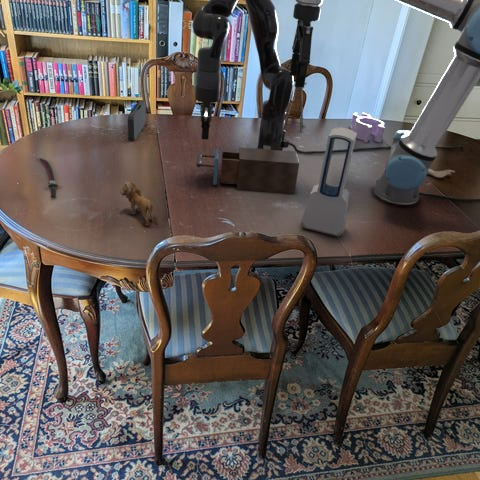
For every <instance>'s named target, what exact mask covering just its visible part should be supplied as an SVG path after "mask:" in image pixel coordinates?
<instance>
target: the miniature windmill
mask: <svg viewBox="0 0 480 480" xmlns="http://www.w3.org/2000/svg"><path fill="white" fill-rule="evenodd" d="M307 84H308V82H307V81H305V85H304V86H307ZM303 90H304V88H300V87H295V91H294V94H293V97H292V100H291V102H290V104H289V109H288V112H287V113H286V117H285V123H284V130H285V128H286V126H287V124H288V123H293V124H299V132H302V127H303V126H304V120H305V119H304V115H303V114H304V110H303V109H304V107H303V104H304V103H303V102H304V101H303V100H304V98H303V96H304V95H303ZM297 92H300V96H296V95H297ZM295 101H297V102H300V106H298V105H293V104H294V102H295ZM292 108H298V109H292ZM299 109H300V110H299ZM291 111H293V112H299V113H300V114H299V115H300V116H299V117H297V116H291V115H290V114H291ZM289 118H291V119H292V118H294V119H299V122H297V121H291V120H289Z"/></svg>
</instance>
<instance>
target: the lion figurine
mask: <svg viewBox="0 0 480 480" xmlns="http://www.w3.org/2000/svg"><path fill="white" fill-rule="evenodd" d="M119 193H120V194H121V196H122V197H124V196H125V198H126V199H127V200H128V202H129V203H130V207H131V211H130V212H129V213H130V215H135V214H136V211H137V212H141V214H142V216H143V218H144V219H145V223H144V225H145V227H149V226H150V221H152V223H153V225H155V226H159V222H156V221H155V219H154V217H153V216H154V215H153V204H152V202H151V200H150V199H148V198H146V197H145V196H144V195H143V194H142V192H141V190H140V187H138V185H136V184H135V183H133V182H132V181H125V182H124V186H122V188H121V189H119ZM136 207H137V208H136ZM148 214H149V216H148Z"/></svg>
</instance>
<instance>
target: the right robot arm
mask: <svg viewBox="0 0 480 480" xmlns="http://www.w3.org/2000/svg"><path fill="white" fill-rule="evenodd" d="M323 1H324V0H295V2H296V3H295V4H294V7H293V14H292V17H293V19H295V20H296V21H297V24H296V29H295V32H294V33H295V34H294V38H293V43H292V46H291V49H292V51H291V52H292V54H291V61H290V68H289V71H290V74H289V75H290V76H293V77H295V80H294V81H295V82H294V88H296V87H298V88H303V89H304V88H305V86H306V85H305V82H306V77H307V73H308V72H307V71H308V65H310V64H311V63H310V62H311V51H312V39H313V32H314V26H312V22H319V21H320V17H321V11H322V7H321V5H322V4H323ZM395 1H397V2H399V3H401V4H403V5H405V6H408V7H411V8H413V9H416V10H418V11H420V12H423V13H424V14H427V15H430V16H432V17H435V18H436V19H439V20H442V21H445V22H447V23H449V26H450V28H451V29H453V30H455V31H457V32H460V35H459V36H458V38H457V40H456V42H455V43H454V45H453V47H452V48H453V52H454V57H453V59H452V60H451V62H450V63H449V65H448V67H447V69H446V70H445V72H444V74H443V75H442V77H441V79H440V81H439V82H438V84H437V86H436V88H435V89H434V91H433V92H432V95H431V96H430V98H429V100H428V101H427V103H426V105H425V106H424V108H423V109H422V112H421V113H420V115H419V117H418V119H417V120H416V122H415V124H414V125H413V126H412V129H411V130H405V129H403V130H402V129H400V130H397V131H396V132H395V134H394V137H392V143H391V146H392V147H391V148H390V150H389V154H388V158H387V160H386V164H385V168H384V171H383V173H382V175H381V176H380V178H379V179H377V180H376V182H375V185H374V187H373V191H372V193H373V195H374V196H375V197H376V198H377V199H378V200H380V201H382V202H383V203H385V204H388V205H390V206H391V205H392V206H396V207H412V206H415V205H417V203H418V201H419V199H420V196H423V197H432V198H440V199H446V200H450V201H456V202H480V198H461V197H453V196H448V195H443V194H436V193H429V192H420V186H421V185H422V184H423V183H424V182H425V180H426V178H427V176H428V174H427V170H428V169H430V167H431V166H432V164H433V162H434V161H435V159H436V158H437V156H438V151H437V148H436V146H439V143H440V142H441V140H442V138H443V137H444V135H445V134H446V132H447V130H448V129H449V127H450V126H451V124H453V121H454V119H455V118H456V117H457V115H458V113H459V112H460V111H461V109H462V107H463V106H464V104H465V103H466V101H467V100H468V98H469V96H470V95H471V93H472V91H473V90H474V88H475V86H476V85H477V83H478V81H479V80H480V0H395Z"/></svg>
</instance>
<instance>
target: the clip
mask: <svg viewBox="0 0 480 480" xmlns="http://www.w3.org/2000/svg"><path fill="white" fill-rule="evenodd" d="M358 114H359V113H358V112H353V114H352V118H351V122H350V126H349V129H350V130H353V131H354V132H356V133H357V135H356V139H358V140H361V141H363V142H364V143H368V142H369V140H370V135H372V136H374V139H373V140H374V142H376V143H382V140H383V137H384V132H385V129H386V127H385V122H384V121H383V120H380V119H377V118H374V117H372V115H371V114H369V113H366V112H361V115H358Z"/></svg>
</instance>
